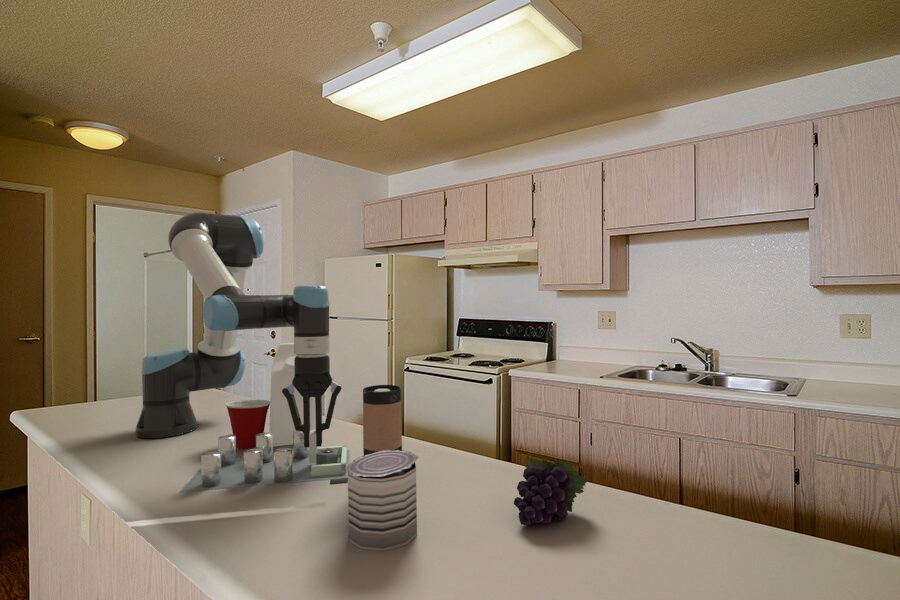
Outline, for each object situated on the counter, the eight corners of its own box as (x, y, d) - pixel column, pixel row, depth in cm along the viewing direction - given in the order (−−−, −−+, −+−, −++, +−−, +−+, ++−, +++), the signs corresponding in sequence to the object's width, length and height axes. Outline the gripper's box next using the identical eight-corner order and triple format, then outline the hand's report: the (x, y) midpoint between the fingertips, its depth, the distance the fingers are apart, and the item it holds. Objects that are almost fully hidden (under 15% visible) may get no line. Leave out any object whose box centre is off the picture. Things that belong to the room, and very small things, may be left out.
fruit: (510, 542, 80) (547, 490, 91) (568, 552, 73) (600, 495, 84) (492, 487, 78) (532, 442, 90) (549, 492, 72) (584, 443, 83)
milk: (314, 432, 135) (313, 340, 134) (317, 444, 124) (316, 344, 123) (269, 437, 130) (267, 342, 130) (268, 450, 120) (266, 346, 119)
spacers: (222, 459, 110) (222, 434, 110) (310, 453, 114) (309, 428, 114) (197, 490, 93) (197, 459, 93) (301, 481, 97) (301, 452, 97)
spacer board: (207, 464, 110) (207, 460, 110) (349, 453, 116) (349, 450, 116) (179, 496, 92) (179, 492, 92) (347, 481, 98) (347, 477, 98)
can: (408, 554, 70) (406, 474, 70) (335, 548, 72) (334, 470, 72) (425, 518, 82) (424, 449, 82) (362, 514, 84) (361, 446, 84)
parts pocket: (316, 456, 112) (316, 447, 112) (346, 453, 114) (346, 445, 114) (311, 476, 99) (311, 466, 99) (345, 473, 101) (345, 464, 101)
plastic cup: (281, 444, 124) (280, 398, 124) (247, 457, 114) (246, 407, 114) (251, 439, 128) (250, 395, 128) (216, 452, 119) (215, 404, 118)
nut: (317, 461, 108) (317, 448, 108) (338, 460, 109) (337, 446, 109) (315, 469, 103) (315, 455, 103) (337, 468, 104) (336, 454, 104)
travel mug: (408, 483, 97) (407, 385, 97) (392, 498, 90) (390, 393, 90) (375, 479, 100) (374, 383, 100) (356, 493, 93) (355, 390, 92)
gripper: (278, 358, 101) (280, 469, 101) (341, 356, 103) (342, 464, 103) (283, 354, 108) (285, 457, 108) (342, 352, 110) (343, 453, 111)
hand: (313, 461), depth 106 cm, fingers closed
